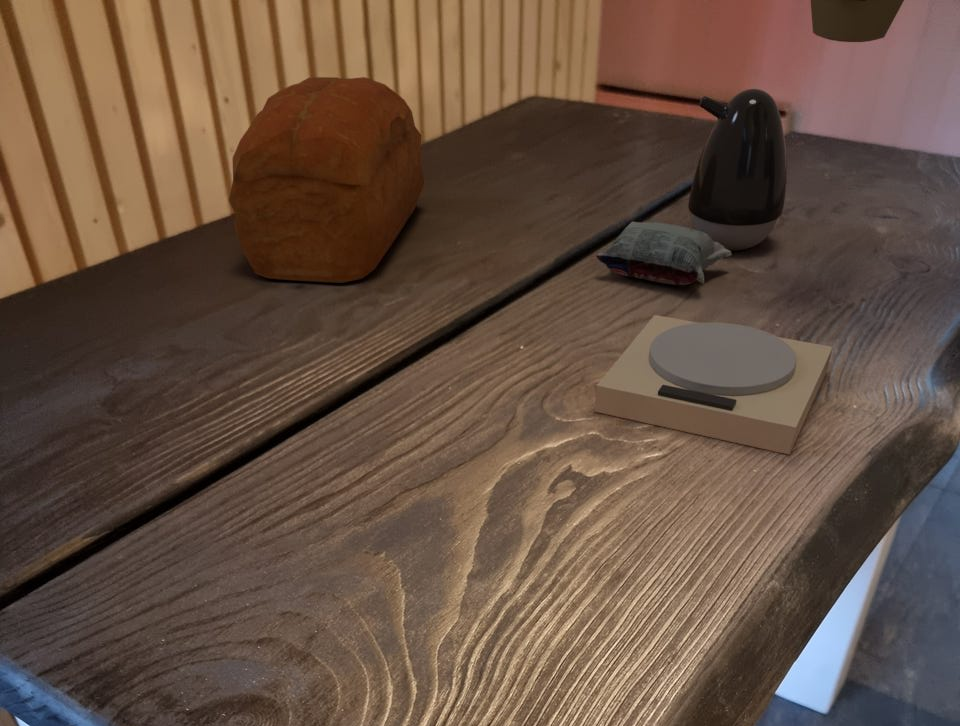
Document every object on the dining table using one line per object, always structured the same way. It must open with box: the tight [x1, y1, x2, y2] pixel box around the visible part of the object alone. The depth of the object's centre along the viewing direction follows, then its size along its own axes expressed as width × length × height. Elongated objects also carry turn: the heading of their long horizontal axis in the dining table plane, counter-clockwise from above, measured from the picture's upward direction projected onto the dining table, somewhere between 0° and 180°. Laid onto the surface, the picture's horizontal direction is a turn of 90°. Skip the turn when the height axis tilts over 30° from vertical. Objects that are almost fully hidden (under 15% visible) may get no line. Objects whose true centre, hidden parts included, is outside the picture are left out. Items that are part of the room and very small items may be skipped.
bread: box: [228, 76, 425, 284], centre depth 101 cm, size 16×27×16 cm, turn 170°
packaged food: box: [595, 221, 733, 286], centre depth 96 cm, size 9×12×5 cm
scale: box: [594, 314, 834, 456], centre depth 77 cm, size 16×15×3 cm
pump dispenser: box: [687, 88, 788, 252], centre depth 99 cm, size 10×10×15 cm
